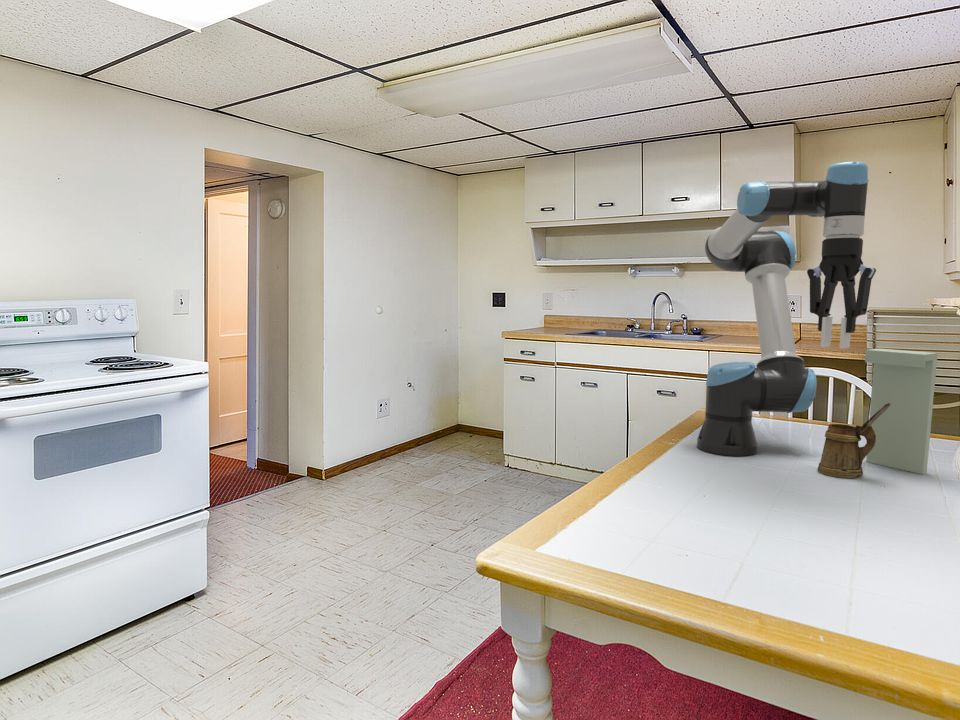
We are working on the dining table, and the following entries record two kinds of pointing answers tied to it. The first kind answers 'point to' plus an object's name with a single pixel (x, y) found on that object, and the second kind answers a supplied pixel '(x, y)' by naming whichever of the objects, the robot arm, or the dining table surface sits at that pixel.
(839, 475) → the wooden mug
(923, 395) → the sage green upright panel
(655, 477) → the dining table surface
